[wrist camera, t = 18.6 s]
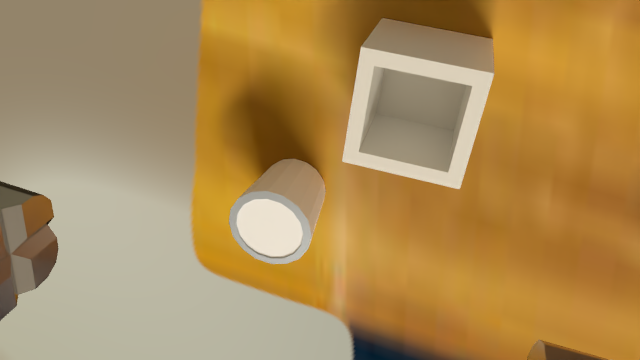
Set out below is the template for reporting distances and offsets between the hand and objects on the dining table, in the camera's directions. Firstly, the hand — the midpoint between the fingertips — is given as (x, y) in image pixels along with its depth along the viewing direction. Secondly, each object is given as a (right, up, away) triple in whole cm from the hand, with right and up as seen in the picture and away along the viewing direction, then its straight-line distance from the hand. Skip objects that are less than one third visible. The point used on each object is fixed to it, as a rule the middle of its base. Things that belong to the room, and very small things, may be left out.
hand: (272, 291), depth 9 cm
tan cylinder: (-1, +1, +40) cm, 40 cm away
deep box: (+9, +9, +33) cm, 35 cm away
